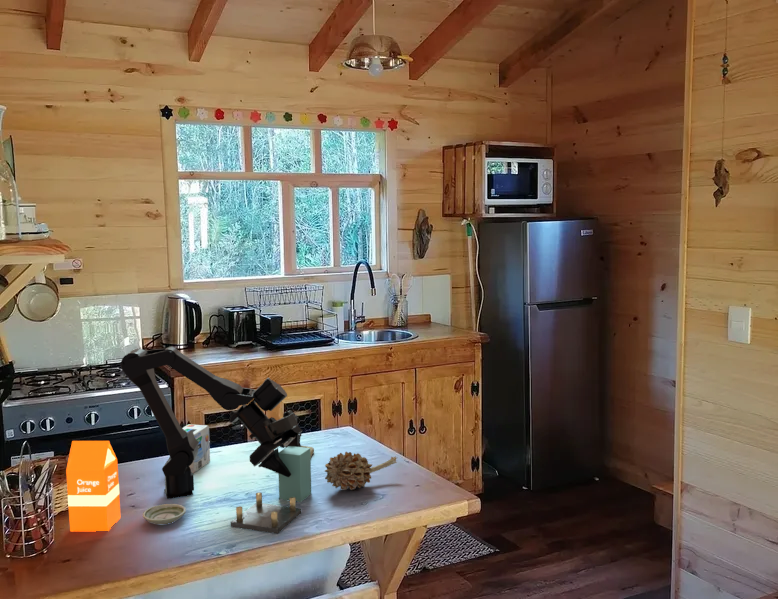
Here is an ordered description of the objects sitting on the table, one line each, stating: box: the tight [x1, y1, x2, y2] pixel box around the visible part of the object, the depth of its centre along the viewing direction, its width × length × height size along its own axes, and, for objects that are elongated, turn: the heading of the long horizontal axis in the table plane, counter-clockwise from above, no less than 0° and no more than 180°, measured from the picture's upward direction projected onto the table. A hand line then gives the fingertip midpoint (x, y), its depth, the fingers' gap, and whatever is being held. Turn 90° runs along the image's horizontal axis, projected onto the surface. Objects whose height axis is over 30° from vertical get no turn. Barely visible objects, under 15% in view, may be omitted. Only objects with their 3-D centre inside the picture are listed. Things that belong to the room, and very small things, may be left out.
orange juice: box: [65, 440, 122, 533], centre depth 172 cm, size 8×9×20 cm
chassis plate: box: [230, 492, 302, 535], centre depth 174 cm, size 12×12×4 cm
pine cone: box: [324, 451, 398, 491], centre depth 195 cm, size 22×10×10 cm, turn 129°
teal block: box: [278, 446, 312, 503], centre depth 188 cm, size 6×6×12 cm
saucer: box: [142, 503, 187, 525], centre depth 175 cm, size 10×10×2 cm
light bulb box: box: [182, 424, 211, 474], centre depth 212 cm, size 11×7×11 cm, turn 168°
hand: (298, 469), depth 188 cm, fingers open, 9 cm apart
